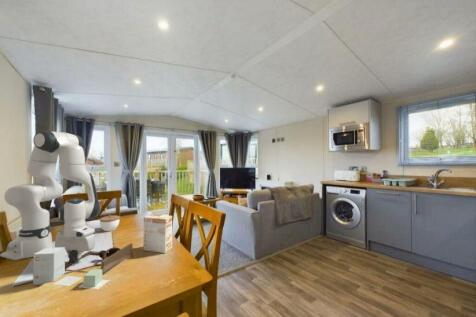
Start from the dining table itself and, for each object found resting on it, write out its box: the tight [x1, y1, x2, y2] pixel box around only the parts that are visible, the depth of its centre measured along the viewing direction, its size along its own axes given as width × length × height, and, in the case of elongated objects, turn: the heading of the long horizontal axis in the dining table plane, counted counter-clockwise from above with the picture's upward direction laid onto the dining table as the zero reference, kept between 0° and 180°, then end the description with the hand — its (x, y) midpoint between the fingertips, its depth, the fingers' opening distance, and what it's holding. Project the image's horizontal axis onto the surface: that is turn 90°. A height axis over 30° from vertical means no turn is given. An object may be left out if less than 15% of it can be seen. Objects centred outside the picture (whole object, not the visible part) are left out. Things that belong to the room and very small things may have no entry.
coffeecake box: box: [142, 213, 173, 254], centre depth 117 cm, size 15×7×20 cm, turn 74°
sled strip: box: [65, 243, 133, 276], centre depth 100 cm, size 27×19×7 cm
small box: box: [32, 247, 66, 286], centre depth 86 cm, size 8×6×13 cm
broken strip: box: [52, 275, 110, 290], centre depth 83 cm, size 21×6×1 cm, turn 82°
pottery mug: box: [98, 246, 122, 261], centre depth 101 cm, size 12×10×8 cm
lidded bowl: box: [99, 214, 121, 232], centre depth 149 cm, size 13×13×11 cm
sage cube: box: [83, 268, 103, 287], centre depth 82 cm, size 4×4×4 cm
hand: (74, 257), depth 102 cm, fingers closed on sled strip, 3 cm apart
